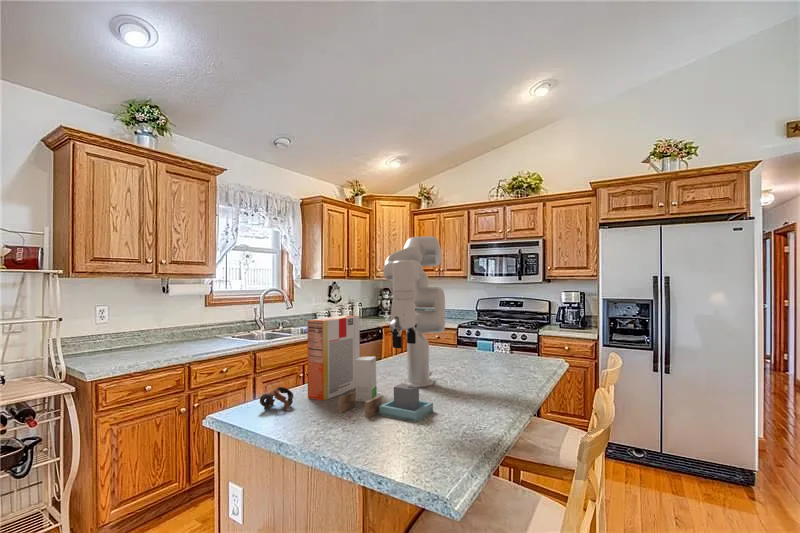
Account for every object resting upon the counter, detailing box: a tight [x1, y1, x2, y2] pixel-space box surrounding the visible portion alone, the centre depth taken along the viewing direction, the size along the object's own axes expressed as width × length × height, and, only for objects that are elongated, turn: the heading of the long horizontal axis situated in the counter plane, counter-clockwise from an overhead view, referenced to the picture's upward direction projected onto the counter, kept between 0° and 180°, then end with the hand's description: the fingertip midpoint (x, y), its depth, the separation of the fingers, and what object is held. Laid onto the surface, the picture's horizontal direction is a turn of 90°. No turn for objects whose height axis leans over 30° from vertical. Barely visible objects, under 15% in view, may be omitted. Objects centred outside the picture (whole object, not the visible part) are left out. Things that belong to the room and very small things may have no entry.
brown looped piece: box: [259, 386, 294, 411], centre depth 144 cm, size 12×10×8 cm
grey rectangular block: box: [393, 383, 420, 411], centre depth 137 cm, size 5×7×9 cm
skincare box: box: [355, 356, 378, 403], centre depth 155 cm, size 8×7×16 cm
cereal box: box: [307, 314, 361, 401], centre depth 165 cm, size 23×8×30 cm, turn 149°
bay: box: [338, 391, 383, 419], centre depth 140 cm, size 8×12×5 cm, turn 59°
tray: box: [379, 398, 434, 423], centre depth 137 cm, size 12×14×3 cm
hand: (404, 345), depth 140 cm, fingers open, 9 cm apart
